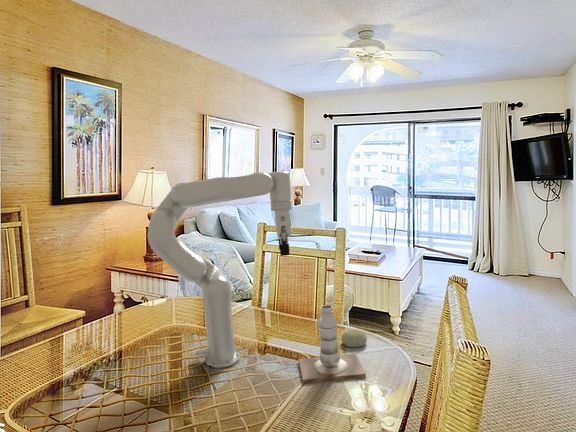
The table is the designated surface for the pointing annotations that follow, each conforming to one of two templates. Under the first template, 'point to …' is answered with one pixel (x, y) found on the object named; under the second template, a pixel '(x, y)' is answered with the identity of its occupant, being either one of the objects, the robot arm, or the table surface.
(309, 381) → the walnut board
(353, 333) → the sea urchin shell
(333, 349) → the plastic bottle
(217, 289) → the robot arm
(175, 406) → the table surface
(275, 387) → the table surface
